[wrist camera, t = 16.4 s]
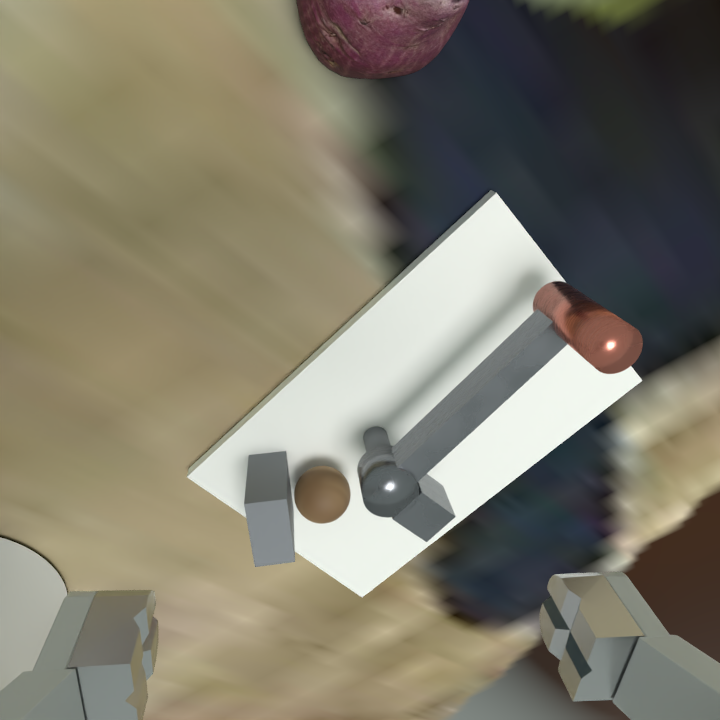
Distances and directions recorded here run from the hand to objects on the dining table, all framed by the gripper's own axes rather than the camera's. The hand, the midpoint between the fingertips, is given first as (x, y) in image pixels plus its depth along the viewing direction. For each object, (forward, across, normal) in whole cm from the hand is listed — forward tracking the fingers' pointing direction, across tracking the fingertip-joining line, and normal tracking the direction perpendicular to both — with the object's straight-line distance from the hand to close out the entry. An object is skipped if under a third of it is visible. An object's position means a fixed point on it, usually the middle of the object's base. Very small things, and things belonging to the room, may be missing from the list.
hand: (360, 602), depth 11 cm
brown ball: (+30, -2, +19) cm, 36 cm away
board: (+31, -10, +14) cm, 36 cm away
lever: (+26, -13, +10) cm, 31 cm away
